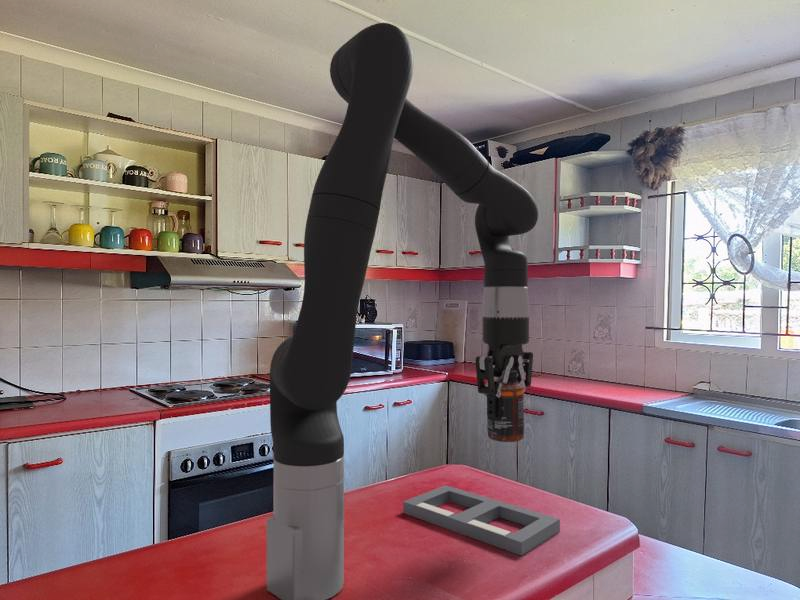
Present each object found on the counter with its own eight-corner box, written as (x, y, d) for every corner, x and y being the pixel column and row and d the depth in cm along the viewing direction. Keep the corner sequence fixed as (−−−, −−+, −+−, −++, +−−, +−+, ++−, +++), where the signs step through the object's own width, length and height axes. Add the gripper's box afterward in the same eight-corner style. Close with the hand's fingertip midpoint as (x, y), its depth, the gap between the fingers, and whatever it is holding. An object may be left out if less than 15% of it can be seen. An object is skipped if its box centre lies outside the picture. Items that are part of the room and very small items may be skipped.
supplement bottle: (521, 434, 93) (521, 367, 93) (526, 443, 87) (526, 372, 87) (486, 433, 94) (486, 367, 94) (488, 442, 88) (488, 371, 88)
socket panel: (521, 555, 82) (521, 541, 82) (403, 512, 98) (403, 501, 98) (559, 531, 91) (559, 518, 91) (445, 495, 107) (445, 484, 107)
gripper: (501, 316, 83) (500, 428, 83) (547, 314, 93) (547, 413, 93) (460, 315, 88) (460, 420, 88) (509, 313, 99) (509, 407, 99)
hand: (505, 416), depth 91 cm, fingers closed on supplement bottle, 6 cm apart
